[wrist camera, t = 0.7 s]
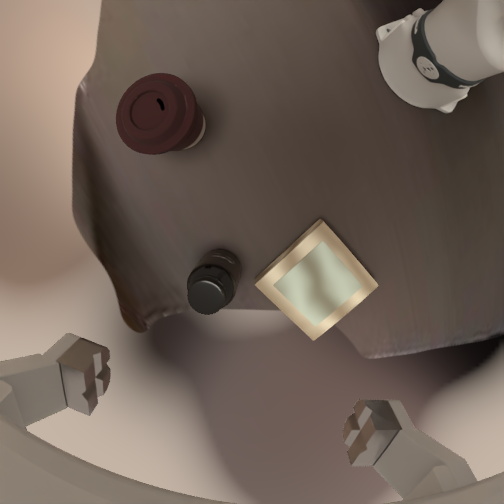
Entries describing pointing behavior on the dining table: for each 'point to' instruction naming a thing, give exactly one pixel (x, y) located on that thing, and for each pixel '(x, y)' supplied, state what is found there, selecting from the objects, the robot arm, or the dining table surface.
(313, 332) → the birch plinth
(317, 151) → the dining table surface
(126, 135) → the coffee cup
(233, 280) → the supplement bottle
